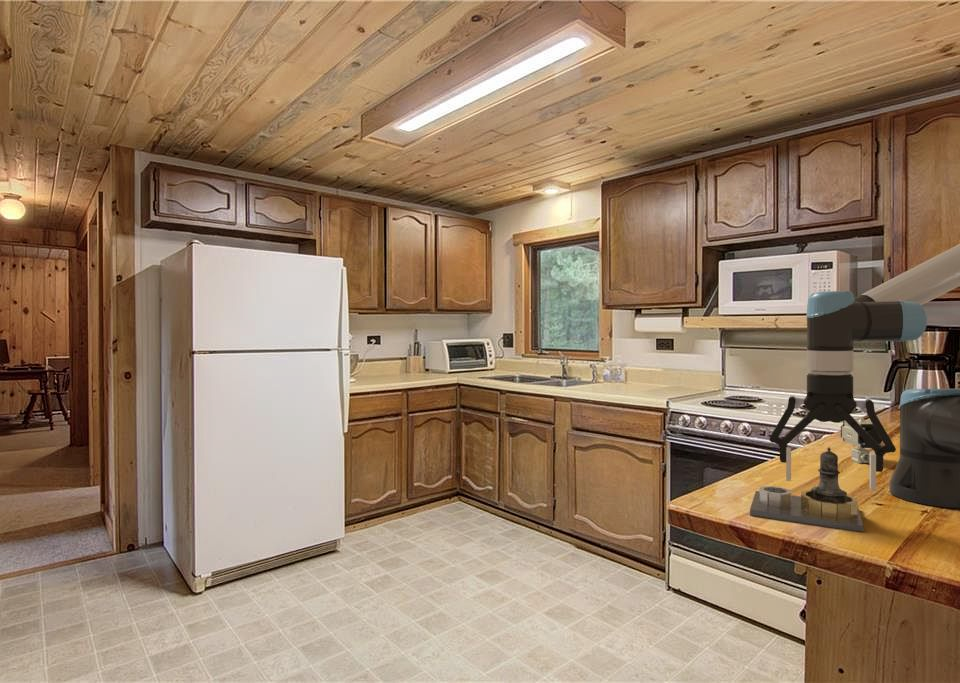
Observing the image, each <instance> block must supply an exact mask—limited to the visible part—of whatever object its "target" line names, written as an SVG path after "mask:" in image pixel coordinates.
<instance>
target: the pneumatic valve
mask: <svg viewBox="0 0 960 683" xmlns="http://www.w3.org/2000/svg"><path fill="white" fill-rule="evenodd" d="M854 419H855V420H856V421H857V422H858V424H859V425H860V426H861V427H862V428H863V429H864V430H865V431H866V432H867V433H868V434H869V435H870V436H871V437H872V438H873V439H874V440H875V441H876V442H877V443H878V444H879V445H880V446H882V443H883V441H882V439H881V437H880V436H879V434H878V432H877V430H876V429H875V427H874V425H873V424H872V422H871V420H866V419H864V417H862V416H860V417H859V418H854ZM840 438H842V442H845V443H847V444H849V445H852V447H851V449H850V451H851V453H850V454H851V458H850V460H851V461H852V462H855V463H858V464H862V463H863V464H869V465H870V452H872V450H870V449H872V448H871V447H870V446H869V445H868V444H867V443H866V442H865V441H864V440H863V439H862V438H861V437H860V436H859V435H858V433H857V432H856V431H855V430H854V429H853V428H852V427H851V426H850V425H849V424H848V423H847V422H846V421H845V420H844V421H842V425H841V426H840ZM854 447H857V448H854Z"/></svg>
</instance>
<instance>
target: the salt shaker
mask: <svg viewBox="0 0 960 683" xmlns="http://www.w3.org/2000/svg"><path fill="white" fill-rule="evenodd" d="M831 450H832V449H831V447H830V446H829V447H827V448H826V451H824V452H821V454H820V458H819V459H820V460H819V461H820V462H819V463H820V467H819V468H818V469H817V471H818V472H819V483H818V485H817V486H814V487H811V489H810V490H811V491H813V496H814V498H815V499H816V500H820V501H825V502H833V503H843V502H844V500H845V496H846V495H847V494H848V492H846V491H845V490H843V489H841V488H840V484H839V474H841V472H840V471H839V470H838V469H839V466H838V464H839V463H838V462H839V460H838V459H839V458H838V455H837V454H836V453H834V452H832V451H831Z"/></svg>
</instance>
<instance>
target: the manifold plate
mask: <svg viewBox="0 0 960 683" xmlns="http://www.w3.org/2000/svg"><path fill="white" fill-rule="evenodd" d="M858 504H859V503H858V499H857V497H854V496H852V495H850V494H848V493H847V495H846V496H845V500H844V502H843V503H833V502H825V501H820V500H816V499H815V498H814V496H813V491H811V489H807V490H802V491H801V492H800V495H793V494H792V490H791V489H788V488H786V487H782V486H773V485H763V486H759V489H758V490H755V492H754V496H753V499H752V502H751V505H750V508H749V516H750V517H758V518H759V517H760V518H766V519H772V520H778V521H785V522H793V523H800V524H807V525H812V526H820V527H826V528H831V529H832V528H834V529H839V530H840V529H841V530H847V531H853V532H859V533H860V532H861V533H864V524H863V520H862V516H861V512H860V509H859V506H858Z"/></svg>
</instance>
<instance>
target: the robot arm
mask: <svg viewBox="0 0 960 683" xmlns="http://www.w3.org/2000/svg"><path fill="white" fill-rule="evenodd" d="M958 287H959V288H960V243H958V244H957V245H954V246H953V247H951V248H949V249H947V250H945V251H943V252H941V253H939V254H938V255H937V254H936V255H935V256H933V257H931V258H929V259H927V260H926V261H924V262H922V263H919V264H918V265H916V266H914V267H912V268H910V269H908V270H906V271H904V272H902V273H900V274H898V275H896V276H895V277H893V278H891V279H889V280H887V281H885V282H883V283H881V284H879V285H877V286H875V287H873V288H871V289H869V290H867V291H865V292H863V293H862V294H860V295H858V296H854V293H853V292H852V291H850V290H846V291H844V290H837V291H836V290H835V291H834V290H831V291H817V292H812V293H811V294H810V295H809V296H808V298H807V304H806V315H805V316H806V335H807V336H806V338H807V339H806V341H807V342H806V344H807V345H806V346H807V347H806V370H807V371H809V373H807V375H806V396H805V397H804V398H802V397H796V396H795V395H790V396H789V397H788V403H787V407H786V409H785V411H784V412H783V414H782V416H780V417H781V418H780V419H779V420H778V423H777V424H776V426H775V427H774V430H772V433H771V434H770V436H769V442H770V443H774V444H776V445H778V447H779V461H780V463H785V465H786V466H785V470H786V471H785V472H786V473H785V474H786V475H785V477H786V479H785V481H786V482H787V481H788V482H791V480H792V445H790V442H791V441H792V440H794V439H795V438H796V437H797V436H798V435H799V434H800V433H801V432H802V431H804V429H805V428H807V427H808V426H809V425H810V424H811V423H812V422H813V421H814V420H817V421H819V422H820V423H826V422H831V423H837V424H840V423H843V421H844V420H845V421H846V422H847V423H848V424H849V425H850V426H851V427H852V428H853V429H854V430H855V431H856V432H857V433H858V435H859V436H860V437H861V438H862V439H863V440H864V441H865V442H866V443H867V444H868V445H869V446H870V447H871V448H870V449H871V450H873V451H871V452H870V464H869V486H868V487H869V489H870V491H877V490H876V489H877V488H876V487H877V472H878V473H882V472H883V471H884V456H885V455H886V454H889V453H895V452H896V451H897V448H896V446H895V444H894V442H893V441H892V440H891V437H890V436H889V434H888V432H887V430H886V429H885V428H884V425H883V424H882V422H881V421H880V419H879V417H878V416H877V414H876V411H875V410H876V409H875V403H874V401H873V400H872V399H870V398H867V399H865V400H855V398H854V376H853V374H851V372H853V371H854V345H855V344H854V343H855V342H898V343H901V342H907V341H908V342H909V341H912V342H913V341H916V340H918V339H919V338H921V337H922V335H923V334H924V333H925V332H926V328H927V324H928V323H927V321H928V319H927V318H928V317H927V316H928V315H927V313H926V310H925V308H924V307H923V305H925V304H926V303H928V302H930V301H932V300H935V299H937V298H939V297H941V296H942V295H944V294H947V293H949V292H951V291H953V290H955V289H957V288H958ZM899 400H900V401H899V405H898V408H899V459H898V461H897V463H896V465H895V468H894V470H893V473H892V475H891V477H890V479H889V488H888V489H889V490H888V491H889V493H890V494H891V495H893V496H894V497H897V498H900V499H903V500H906V501H909V502H913V503H916V504H917V503H918V504H922V505H927V506H934V507H939V508H940V507H941V508H948V509H960V388H911V389H906V390H904V391H903V392H902V393H901V395H900V399H899ZM802 405H804V406H805V407H806V409H807V410H808V412H807V414H806V415H805V416H804V417H803V418H802V419H800V421H799V422H798V423H796V424H795V425H794V426H793V427H792V428H791V429H790V430H789V431H788V432H787V433H786V434H785V435H784V436H783V437H780V435H781V433H782V431H783V430H784V429H785V427H786V425H787V423H788V422H789V420H790V418H791V416H792V415H793V414H794V411H795V409H799V408H800V407H801V406H802ZM856 408H859V409H860V410H861V412H862V413H866V415H867V416H868V419H869V421H870V422H872V424H873V425H874V427H875V429H876V430H877V432H878V434H879V436H880V437H881V439H882V443H883V444H881V446H880V445H879V444H878V443H877V442H876V441H875V440H874V439H873V438H872V437H871V436H870V435H869V434H868V433H867V432H866V431H865V430H864V429H863V428H862V427H861V426H860V425H859V424H858V422H857V421H856V420H855V419H856V418H854V417H853V416H852V415H851V414H852V413H853V411H855V409H856Z"/></svg>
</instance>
